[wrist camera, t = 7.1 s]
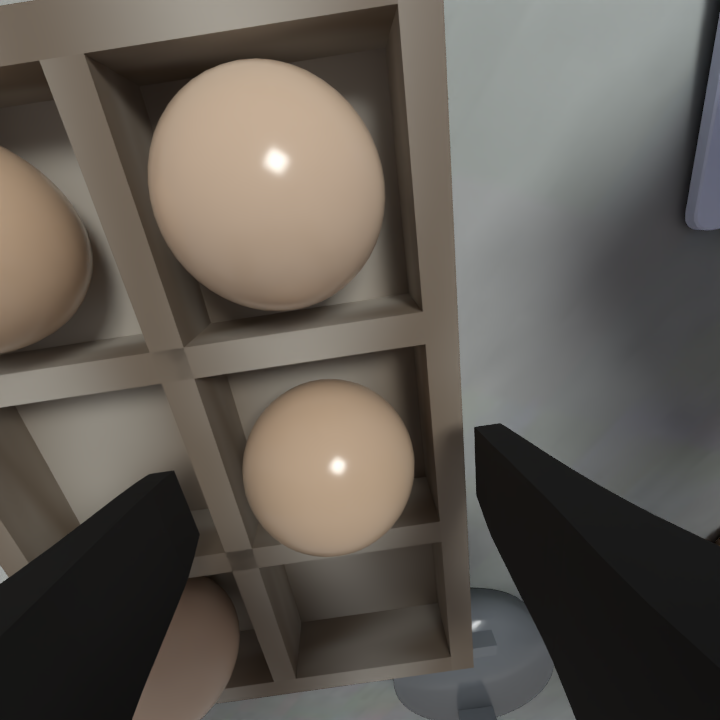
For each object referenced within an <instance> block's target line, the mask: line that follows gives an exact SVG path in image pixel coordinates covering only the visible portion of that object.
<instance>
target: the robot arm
mask: <svg viewBox="0 0 720 720" xmlns="http://www.w3.org/2000/svg"><path fill="white" fill-rule="evenodd" d="M685 221H686V223H687V225H688V227H690V228H691V229H694V230H714V229H720V14H719V20H718V26H717V32H716V38H715V43H714V49H713V55H712V61H711V67H710V73H709V78H708V84H707V90H706V96H705V102H704V108H703V114H702V119H701V125H700V131H699V137H698V143H697V149H696V154H695V160H694V166H693V172H692V178H691V184H690V189H689V195H688V201H687V207H686V213H685ZM474 433H475V465H476V495H477V498H478V501H479V504H480V507H481V510H482V512H483V515H484V518H485V521H486V523H487V526H488V529H489V531H490V534H491V537H492V539H493V541H494V543H495V545H496V547H497V549H498V551H499V553H500V555H501V557H502V559H503V561H504V563H505V565H506V567H507V569H508V571H509V573H510V575H511V577H512V579H513V581H514V583H515V585H516V587H517V589H518V591H519V593H520V595H521V597H522V599H523V601H524V603H525V605H526V607H527V609H528V611H529V613H530V615H531V617H532V619H533V621H534V623H535V625H536V627H537V629H538V631H539V633H540V635H541V637H542V639H543V641H544V644H545V646H546V648H547V650H548V652H549V654H550V657H551V659H552V661H553V663H554V666H555V668H556V671H557V673H558V675H559V678H560V680H561V683H562V685H563V688H564V690H565V693H566V695H567V698H568V700H569V703H570V705H571V708H572V710H573V713H574V715H575V718H576V720H720V546H719V545H717V544H714V543H712V542H710V541H708V540H705V539H703V538H701V537H699V536H697V535H695V534H693V533H691V532H689V531H686V530H684V529H682V528H680V527H678V526H676V525H674V524H672V523H670V522H668V521H666V520H664V519H661V518H659V517H657V516H655V515H653V514H651V513H649V512H648V511H646V510H644V509H642V508H640V507H638V506H636V505H634V504H632V503H630V502H629V501H627V500H625V499H623V498H621V497H619V496H618V495H616V494H614V493H612V492H610V491H609V490H607V489H605V488H603V487H601V486H600V485H598V484H596V483H594V482H593V481H591V480H589V479H588V478H586V477H584V476H583V475H581V474H579V473H578V472H576V471H574V470H573V469H571V468H569V467H568V466H566V465H565V464H563V463H561V462H560V461H558V460H556V459H555V458H553V457H552V456H550V455H549V454H547V453H545V452H544V451H542V450H541V449H539V448H538V447H536V446H535V445H533V444H532V443H530V442H529V441H527V440H526V439H524V438H522V437H521V436H519V435H518V434H516V433H515V432H513V431H512V430H510V429H509V428H507V427H505V426H504V425H502V424H500V423H499V424H492V425H485V426H478V427H474ZM199 536H200V533H199V531H198V528H197V526H196V523H195V521H194V519H193V516H192V514H191V511H190V509H189V506H188V504H187V501H186V499H185V496H184V494H183V491H182V489H181V486H180V484H179V481H178V479H177V476H176V474H175V472H174V470H173V471H166V472H159V473H152V474H148V475H147V476H145V477H144V478H142V479H141V480H139V481H138V482H136V483H135V484H133V485H132V486H131V487H129V488H128V489H126V490H125V491H124V492H122V493H121V494H120V495H118V496H117V497H116V498H114V499H113V500H112V501H110V502H109V503H108V504H107V505H105V506H104V507H103V508H101V509H100V510H99V511H97V512H96V513H95V514H94V515H92V516H91V517H90V518H88V519H87V520H86V521H84V522H83V523H82V524H80V525H79V526H78V527H77V528H75V529H74V530H73V531H71V532H70V533H69V534H67V535H66V536H65V537H64V538H62V539H61V540H60V541H58V542H57V543H56V544H54V545H53V546H52V547H50V548H49V549H48V550H46V551H45V552H43V553H42V554H41V555H39V556H38V557H37V558H35V559H34V560H32V561H31V562H30V563H28V564H27V565H26V566H24V567H23V568H21V569H20V570H19V571H17V572H16V573H15V574H13V575H12V576H11V577H9V578H8V579H6V580H5V581H4V582H2V583H1V584H0V720H132V718H133V716H134V713H135V710H136V708H137V705H138V702H139V700H140V697H141V694H142V691H143V689H144V687H145V684H146V682H147V679H148V677H149V674H150V672H151V669H152V667H153V665H154V662H155V660H156V657H157V655H158V652H159V650H160V647H161V645H162V643H163V640H164V638H165V635H166V633H167V630H168V628H169V625H170V623H171V621H172V618H173V616H174V613H175V611H176V608H177V606H178V603H179V601H180V598H181V596H182V593H183V591H184V588H185V585H186V583H187V580H188V577H189V574H190V570H191V567H192V563H193V560H194V556H195V552H196V548H197V544H198V540H199Z"/></svg>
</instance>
